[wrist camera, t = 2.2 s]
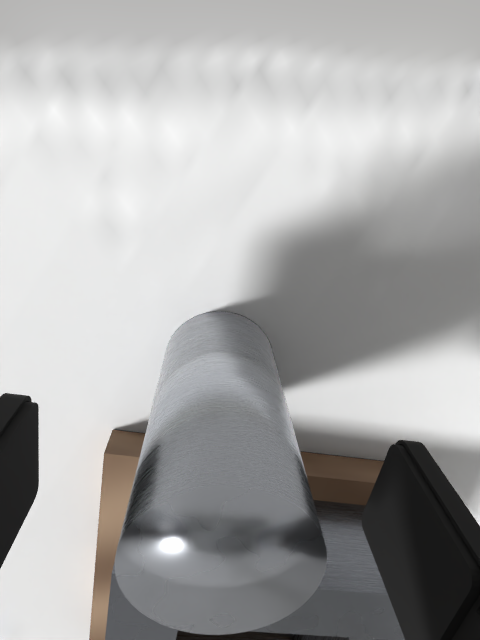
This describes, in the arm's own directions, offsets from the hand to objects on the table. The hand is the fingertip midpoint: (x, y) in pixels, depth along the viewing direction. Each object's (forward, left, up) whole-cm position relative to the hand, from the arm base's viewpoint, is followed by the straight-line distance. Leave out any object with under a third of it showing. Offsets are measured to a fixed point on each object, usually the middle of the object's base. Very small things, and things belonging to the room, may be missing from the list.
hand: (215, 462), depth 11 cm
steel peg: (0, 0, -6) cm, 6 cm away
